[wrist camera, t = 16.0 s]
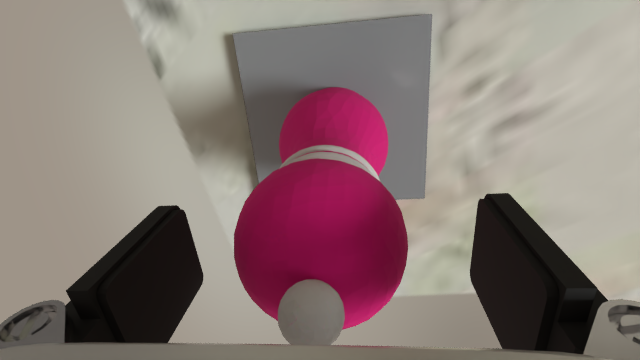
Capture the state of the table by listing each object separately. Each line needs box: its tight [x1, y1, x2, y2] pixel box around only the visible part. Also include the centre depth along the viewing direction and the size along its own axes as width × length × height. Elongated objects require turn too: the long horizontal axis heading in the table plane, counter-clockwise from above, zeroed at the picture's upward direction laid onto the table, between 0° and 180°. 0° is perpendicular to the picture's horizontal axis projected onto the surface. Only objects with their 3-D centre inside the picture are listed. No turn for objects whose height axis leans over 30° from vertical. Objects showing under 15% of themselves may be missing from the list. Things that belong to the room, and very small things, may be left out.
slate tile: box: [233, 14, 432, 200], centre depth 27 cm, size 14×14×1 cm
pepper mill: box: [234, 87, 408, 345], centre depth 17 cm, size 7×7×20 cm
